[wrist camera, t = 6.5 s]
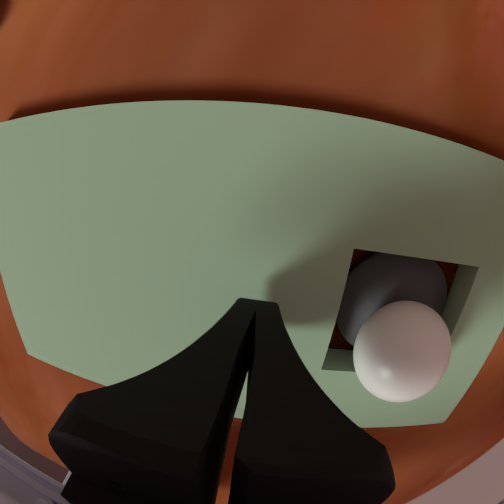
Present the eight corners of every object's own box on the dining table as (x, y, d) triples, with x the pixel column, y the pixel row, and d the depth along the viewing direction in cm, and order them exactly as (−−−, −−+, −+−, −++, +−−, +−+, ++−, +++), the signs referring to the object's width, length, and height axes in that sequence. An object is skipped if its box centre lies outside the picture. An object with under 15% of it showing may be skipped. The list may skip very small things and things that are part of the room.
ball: (355, 327, 14) (431, 342, 12) (335, 405, 11) (423, 420, 10) (371, 269, 11) (465, 289, 10) (353, 364, 8) (468, 384, 7)
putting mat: (437, 404, 14) (443, 422, 13) (40, 341, 16) (28, 354, 15) (530, 175, 9) (550, 182, 8) (3, 124, 11) (-16, 127, 9)
